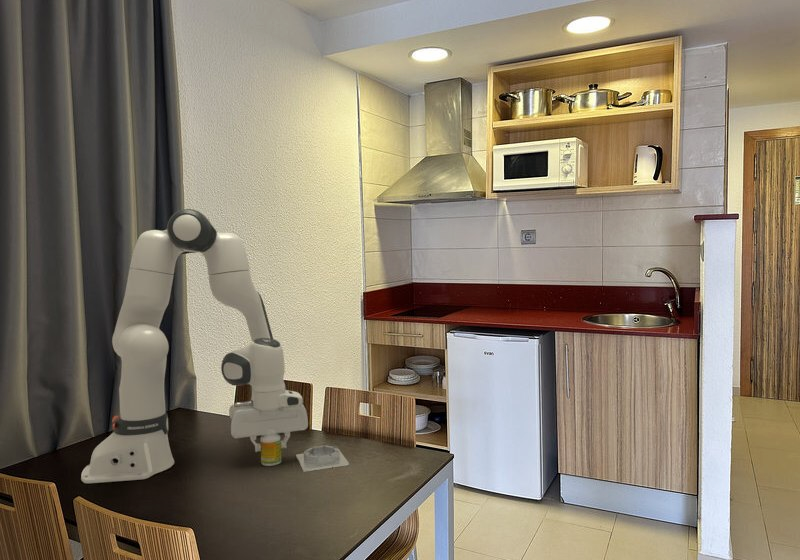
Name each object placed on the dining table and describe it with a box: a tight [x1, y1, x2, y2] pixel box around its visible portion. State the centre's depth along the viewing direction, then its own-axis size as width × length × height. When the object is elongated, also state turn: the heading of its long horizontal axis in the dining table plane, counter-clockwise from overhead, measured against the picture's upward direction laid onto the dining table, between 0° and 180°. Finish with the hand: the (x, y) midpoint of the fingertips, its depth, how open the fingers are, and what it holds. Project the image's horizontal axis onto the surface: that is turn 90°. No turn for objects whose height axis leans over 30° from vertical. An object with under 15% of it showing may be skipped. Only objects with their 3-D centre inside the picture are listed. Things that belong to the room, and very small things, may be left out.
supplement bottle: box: [259, 429, 282, 467], centre depth 163 cm, size 5×5×10 cm
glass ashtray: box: [295, 444, 350, 473], centre depth 164 cm, size 12×12×3 cm
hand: (270, 449), depth 163 cm, fingers closed on supplement bottle, 5 cm apart
